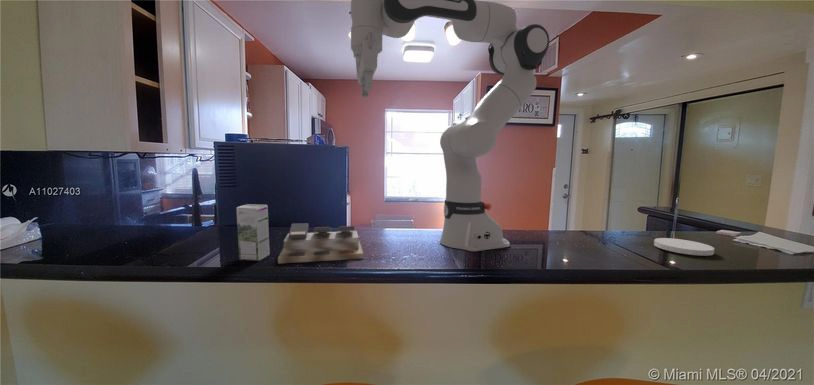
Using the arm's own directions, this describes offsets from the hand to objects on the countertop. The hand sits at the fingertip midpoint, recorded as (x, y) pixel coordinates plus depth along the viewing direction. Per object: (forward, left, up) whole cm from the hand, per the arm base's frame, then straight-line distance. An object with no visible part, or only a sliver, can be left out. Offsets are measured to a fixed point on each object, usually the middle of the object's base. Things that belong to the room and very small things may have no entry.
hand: (366, 93), depth 88 cm
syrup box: (+31, +3, -46) cm, 56 cm away
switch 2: (+6, +1, -39) cm, 40 cm away
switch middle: (+13, +1, -39) cm, 41 cm away
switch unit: (+13, +3, -46) cm, 48 cm away
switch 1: (+19, +1, -39) cm, 44 cm away
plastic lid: (-97, +20, -46) cm, 109 cm away
